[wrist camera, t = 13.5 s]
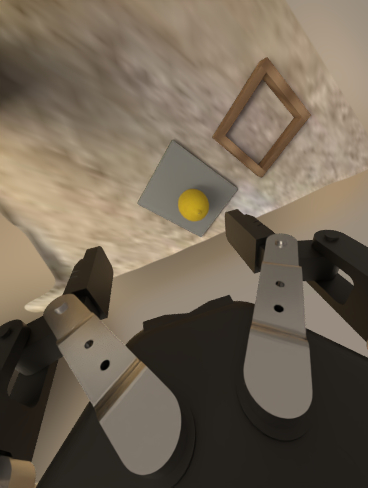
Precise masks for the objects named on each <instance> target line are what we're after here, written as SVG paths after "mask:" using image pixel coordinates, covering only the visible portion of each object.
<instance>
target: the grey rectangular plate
mask: <svg viewBox="0 0 368 488" xmlns="http://www.w3.org/2000/svg"><path fill="white" fill-rule="evenodd" d="M188 189H197V190H200V191H201V192H203V193H204V194H205V195H206V197H207V199H208V202H209V211H208V213H207V215H206V216H205V217H204V218H203V219H202V220H200V221H189V220H187V219H186V218H184V217H183V216H182V215H181V213H180V211H179V208H178V200H179V197H180V195H181V194H182V193H183V192H184V191H186V190H188ZM237 190H238V189H237V188H236V187H235V186H233V185H232V184H231V183H229V182H228V181H227V180H225V179H224V178H223V177H221V176H220V175H219V174H217V173H216V172H215V171H213V170H212V169H211V168H209V167H208V166H207V165H205V164H204V163H203V162H201V161H200V160H199V159H197V158H196V157H195V156H193V155H192V154H191V153H189V152H188V151H187V150H185V149H184V148H183V147H181V146H180V145H179V144H177V143H176V142H175V141H173V140H172V141H171V143H170V145H169V146H168V148H167V150H166V152H165V154H164V155H163V157H162V159H161V161H160V163H159V165H158V166H157V168H156V170H155V172H154V174H153V175H152V177H151V179H150V181H149V183H148V184H147V186H146V188H145V190H144V192H143V194H142V195H141V197H140V199H139V201H138V205H140V206H142V207H144V208H146V209H148V210H150V211H152V212H154V213H155V214H157V215H159V216H161V217H163V218H165V219H167V220H169V221H171V222H173V223H175V224H177V225H178V226H180V227H182V228H184V229H186V230H188V231H190V232H192V233H194V234H196V235H198V236H200V237H202V236H203V234H204V233H205V232H206V231H207V229H208V228H209V227H210V225H211V224H212V223H213V221H214V220H215V219H216V217H217V216H218V215H219V213H220V212H221V211H222V209H223V208H224V207H225V205H226V204H227V203H228V201H229V200H230V199H231V197H232V196H233V195H234V194H235V192H236V191H237Z"/></svg>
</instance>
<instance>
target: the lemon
mask: <svg viewBox="0 0 368 488" xmlns="http://www.w3.org/2000/svg"><path fill="white" fill-rule="evenodd" d="M178 208H179V211H180V213H181V215H182V216H183V217H184V218H186V219H187V220H189V221H200V220H202V219H203V218H204V217H205V216H206V215H207V213H208V211H209V202H208V199H207V197H206V195H205V194H204V193H203V192H201V191H200V190H197V189H188V190H186V191H184V192H183V193H182V194H181V195H180V197H179V200H178Z"/></svg>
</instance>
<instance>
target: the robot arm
mask: <svg viewBox="0 0 368 488" xmlns="http://www.w3.org/2000/svg"><path fill="white" fill-rule="evenodd" d="M225 229H226V237H227V239H228V241H229V243H230V244H231V245H232V246H233V248H234V249H235V250H236V251H237V253H238V254H239V255H240V256H241V258H242V259H243V260H244V261H245V262H246V264H247V265H248V266H249V268H250V269H251V270H252V271H253V272H254V273H258V272H260V278H259V284H258V290H257V296H256V302H255V304H253V303H249V302H243V301H233V300H232V299H231V297H230V295H228V296H225V297H221V298H218V299H215V300H211V301H209V302H207V303H205V304H203V305H202V306H200V307H198V308H197V309H195V310H193V311H192V312H190V313H185V314H172V315H163V316H160V317H157V318H154V319H151V320H147V321H145V322H143V330H142V331H140V332H139V333H137V334H136V335H135V336H134V337H133V338H132V339H131V340H129V342H128V343H127V344H126V345H124V344H123V343H122V342H121V341H120V340H119V339H118V338H117V337H116V336H115V335H114V334H113V333H112V332H111V330H110V329H109V328H108V327H107V326H106V325H105V324H104V323H103V322H102V321H101V320H102V319H105V318H107V317H108V310H109V303H110V295H111V288H112V281H113V268H112V265H111V263H110V262H109V260H108V258H107V256H106V254H105V252H104V250H103V249H102V247H101V246H98V247H94V248H90V249H87V250H86V253H85V255H84V258H83V259H81V260H80V261H79V262H78V263H77V264H76V265H75V266H74V269H73V271H72V274H71V276H70V279H69V281H68V283H67V286H66V288H65V290H64V293H63V295H62V296H60V297H58V298H56V299H55V300H53V301H52V302H51V303H50V304H49V305H48V306H47V307H46V309H45V311H44V314H43V316H42V317H40V318H38V319H36V320H34V321H32V322H30V323H28V324H27V325H26V324H25V323H23V322H22V321H21V320H12V321H9V322H7V323H5V324H3V325H2V326H0V488H368V358H367V357H365V356H363V355H361V354H359V353H357V352H355V351H353V350H350V349H348V348H346V347H344V346H342V345H340V344H338V343H336V342H334V341H332V340H330V339H327V338H325V337H323V336H321V335H319V334H317V333H315V332H313V331H311V330H309V329H306V328H305V314H304V296H303V281H307V283H308V284H309V285H310V286H311V287H312V288H314V290H315V291H316V292H317V293H318V294H319V295H320V296H321V297H322V298H323V299H324V300H325V301H326V302H327V303H328V304H329V305H330V306H331V307H332V308H333V309H334V310H335V311H336V312H337V313H338V314H339V315H340V316H341V317H342V318H343V319H344V320H345V321H346V322H347V323H348V324H349V325H350V326H351V327H352V328H353V329H354V330H355V331H356V332H357V333H358V334H359V335H360V336H361V337H362V338H363V339H364V340H365V341H366V342H367V349H368V247H366V246H364V245H363V244H361V243H359V242H358V241H356V240H354V239H352V238H351V237H349V236H347V235H345V234H344V233H341V232H338V231H334V230H321V231H318V232H316V233H315V234H314V238H313V240H305V241H297V240H296V239H295V238H294V237H292V236H290V235H287V234H275V233H274V232H273V231H272V230H270V229H269V228H268V227H266V226H265V225H263V224H262V223H261V222H260V221H259V220H257V219H256V218H255V217H253V216H250V215H247V214H246V215H244V214H243V213H241V212H240V211H239V210H238V209H236V210H232V211H228V212H226V213H225ZM339 268H340V269H341V270H342V271H344V272H345V273H346V274H348V275H349V276H350V277H351V278H352V280H353V283H354V286H353V285H352V284H351V283H350V282H348V281H347V280H346V279H344V278H343V277H342V276H341V275H339V274H338V270H339ZM62 356H64V358H65V360H66V361H67V363H68V365H69V366H70V368H71V370H72V371H73V373H74V375H75V376H76V378H77V380H78V381H79V383H80V385H81V387H82V388H83V390H84V392H85V393H86V395H87V396H88V398H89V400H90V402H89V403H88V404H87V406H86V408H85V409H84V411H83V412H82V414H81V416H80V417H79V419H78V421H77V422H76V424H75V425H74V427H73V428H72V430H71V432H70V433H69V435H68V436H67V438H66V440H65V441H64V443H63V445H62V446H61V448H60V449H59V451H58V453H57V454H56V456H55V457H54V459H53V461H52V462H51V464H50V465H49V467H48V468H47V470H46V472H45V473H44V475H43V476H42V478H41V480H40V481H39V483H38V485H36V484H35V479H36V471H35V467H34V465H33V464H32V463H31V461H32V458H33V454H34V450H35V446H36V442H37V439H38V435H39V431H40V427H41V423H42V420H43V416H44V412H45V408H46V404H47V401H48V397H49V393H50V389H51V386H52V382H53V378H54V374H55V370H56V367H57V363H58V359H59V358H61V357H62ZM14 370H17V371H19V374H18V377H17V379H16V382H15V384H14V386H13V389H12V391H11V394H10V396H8V393H7V388H8V384H9V381H10V379H11V377H12V374H13V372H14Z"/></svg>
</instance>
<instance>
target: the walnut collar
mask: <svg viewBox="0 0 368 488" xmlns="http://www.w3.org/2000/svg"><path fill="white" fill-rule="evenodd" d="M262 79H263V80H264V81H265V82H266V84H267V85H268V86H269V87H270V89H271V90H272V91H273V92H274V93H275V95H276V96H277V97H278V98H279V100H280V101H281V102H282V103H283V104H284V106H285V107H286V108H287V109H288V111H289V112H290V113H291V114H292V115H293V117H294V119H293V120H292V121H291V123H290V124H289V125H288V127H287V128H286V129H285V131H284V132H283V133H282V134H281V136H280V137H279V138H278V140H277V141H276V142H275V144H274V145H273V146H272V148H271V149H270V150H269V152H268V153H267V154H266V155H265V157H264V158H263V159H262V161H261V162H260V163H259V165H258V164H256V163H255V162H254V161H253V160H252V159H251V158H250V157H249V156H247V155H246V154H245V153H244V152H243V151H242V150H241V149H240V148H238V147H237V146H236V145H235V144H234V143H233V142H232V141H231V140H229V139H228V138H227V137H226V136H225V135H226V134H227V132H228V131H229V129H230V128H231V126H232V124H233V123H234V121H235V120H236V118H237V117H238V115H239V114H240V112H241V111H242V109H243V108H244V106H245V105H246V103H247V101H248V100H249V98H250V97H251V95H252V94H253V92H254V91H255V89H256V88H257V86H258V85H259V83H260V82H261V80H262ZM310 116H311V114H310V113H309V112H308V110H307V109H306V108H305V106H304V105H303V104H302V102H301V101H300V100H299V98H298V97H297V96H296V94H295V93H294V92H293V91H292V89H291V88H290V87H289V85H288V84H287V83H286V81H285V80H284V79H283V77H282V76H281V75H280V73H279V72H278V71H277V69H276V68H275V67H274V65H273V64H272V63H271V61H270V60H269V59H268V57H266V58H264V59H263V60H261V61H260V62H259V63H258V65H257V67H256V68H255V70H254V71H253V73H252V74H251V76H250V78H249V79H248V81H247V82H246V84H245V86H244V87H243V89H242V90H241V92H240V94H239V95H238V97H237V98H236V100H235V102H234V103H233V105H232V106H231V108H230V110H229V111H228V113H227V114H226V116H225V117H224V119H223V121H222V122H221V124H220V125H219V127H218V129H217V130H216V132H215V133H214V135H213V137H212V138H213V139H215V140H216V141H217V142H218V143H219V144H220V145H222V146H223V147H224V148H225V149H226V150H227V151H229V152H230V153H231V154H232V155H233V156H235V157H236V158H237V159H238V160H239V161H240V162H242V163H243V164H244V165H245V166H246V167H247V168H249V169H250V170H251V171H252V172H253V173H255V174H256V175H257V176H259V177H263V175H264V174H265V173H266V172H267V170H268V169H269V168H270V166H271V165H272V164H273V163H274V161H275V160H276V159H277V158H278V156H279V155H280V154H281V153H282V151H283V150H284V149H285V147H286V146H287V145H288V144H289V142H290V141H291V140H292V139H293V137H294V136H295V135H296V134H297V132H298V131H299V130H300V128H301V127H302V126H303V125H304V123H305V122H306V121H307V120H308V118H309V117H310Z"/></svg>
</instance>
